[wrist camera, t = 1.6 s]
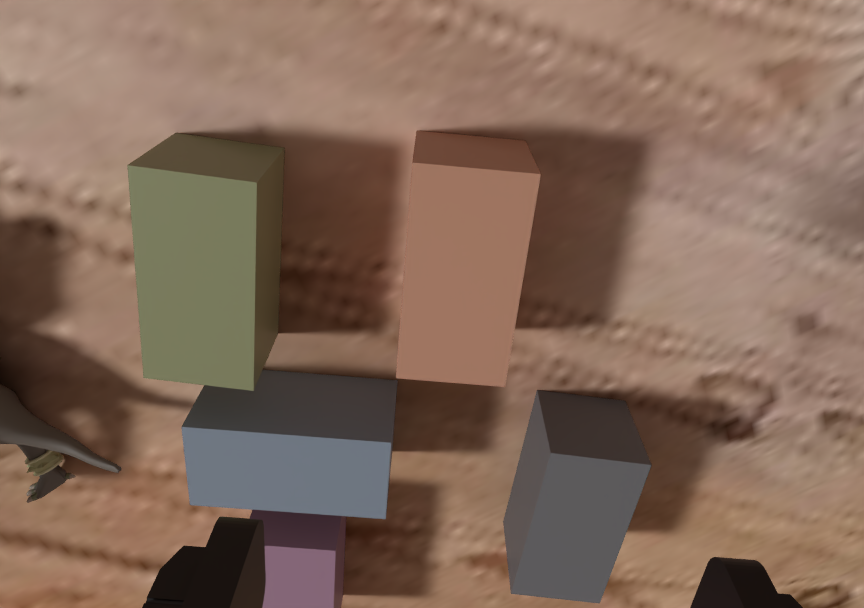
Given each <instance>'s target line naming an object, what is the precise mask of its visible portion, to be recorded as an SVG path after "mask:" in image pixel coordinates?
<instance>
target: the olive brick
mask: <svg viewBox="0 0 864 608" xmlns="http://www.w3.org/2000/svg"><path fill="white" fill-rule="evenodd" d="M284 153H285V148H282V147H274V146H267V145H260V144H253V143H246V142H238V141H231V140H224V139H217V138H209V137H202V136H195V135H188V134H180V133H175V134H173V135H172V136H170V137H169V138H167V139H166V140H164V141H163V142H161V143H160V144H158V145H157V146H155V147H154V148H152V149H151V150H149V151H148V152H146V153H145V154H143V155H142V156H140V157H139V158H137V159H136V160H134V161H133V162H131V163H130V164H129V165H128V178H129V192H130V205H131V218H132V231H133V244H134V258H135V271H136V284H137V297H138V310H139V324H140V337H141V350H142V363H143V376H144V378H148V379H157V380H165V381H174V382H182V383H191V384H199V385H208V386H216V387H225V388H233V389H242V390H250V391H254V389H255V386H256V384H257V382H258V379H259V377H260V374H261V372H262V370H263V367H264V365H265V363H266V360H267V358H268V356H269V353H270V351H271V349H272V346H273V344H274V342H275V339H276V337H277V335H278V322H279V294H280V266H281V237H282V209H283V181H284Z"/></svg>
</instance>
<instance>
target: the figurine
mask: <svg viewBox="0 0 864 608" xmlns="http://www.w3.org/2000/svg"><path fill="white" fill-rule="evenodd" d="M0 360H1V357H0ZM0 444H16V445H18V446H19V447H20V449H21V450H22V451H23V452H24V454H25V455H26V456H27V459H26V460H25V464H28V466H27V467H29V469H28V471H27V473H28V472H34V476H40V479H39V480H38V482H37V483H35V484H32V485H31V486H30V488H29V489H30V490H29V491H28V492H27V494H26V495H27V496H30V495H31V496H30V497H29V498H28V500H27V503H29V502H31V501H34V500H37V499H39V498H42V497H43V496H45V495H46V494H48V493H49V492H51V491H53V490H54V489H56V488H57V487H58V486H60V485H61V484H63V483H64V482H65V481H66V480H67V479H71V478H74V477H76V476H75V475H74V474H72V473H66V471H65V470H64V469H62V468H61V467H60V466H59V464H60V463H61V462H62V460H63V458H64V457H63V455H61V453H64V454H67V455H70V456H72V457H75V458H78V459H80V460H82V461H84V462H86V463H88V464H91V465H93V466H96V467H99V468H102V469H105V470H108V471H112V472H117V473H118V472H119V471H121V467H120V466H118V465H117V464H115V463H113V462H111V461H108V460H106V459H104V458H102V457H100V456H98V455H97V454H95V453H93V452H92V451H91V450H89V449H88V448H87V447H85V446H84V445H82V444H81V443H80V442H78V441H77V440H76V439H74V438H72V437H71V436H69V435H67V434H66V433H64V432H62V431H60V430H58V429H56V428H54V427H52V426H51V425H49V424H47V423H45V422H43V421H42V420H40V419H39V418H37V417H36V416H34V415H33V414H32V413H30V412H29V411H28V410H27V409H25V408H24V407H23V406H22V405H21V403H20V401H19V399H18V398H17V396H16V394H15V392H14V391H12V390H10V389H8V388H6V387H5V386H3V385H1V384H0Z"/></svg>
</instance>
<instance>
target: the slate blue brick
mask: <svg viewBox="0 0 864 608" xmlns="http://www.w3.org/2000/svg"><path fill="white" fill-rule="evenodd" d="M397 382H398V380H387V379H374V378H361V377H349V376H336V375H323V374H311V373H298V372H286V371H273V370H262V372H261V374H260V377H259V379H258V382H257V384H256V386H255V389H254V391H250V390H242V389H233V388H225V387H216V386H208V385H204V387H203V389H202V391H201V392H200V394H199V396H198V398H197V400H196V401H195V403H194V405H193V407H192V409H191V411H190V412H189V414H188V416H187V418H186V420H185V422H184V423H183V425H182V436H183V445H184V454H185V463H186V472H187V481H188V490H189V499H190V505H198V506H211V507H225V508H239V509H253V510H267V511H280V512H294V513H308V514H322V515H336V516H349V517H363V518H377V519H386V510H387V500H388V490H389V480H390V469H391V459H392V448H393V435H394V422H395V408H396V395H397Z"/></svg>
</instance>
